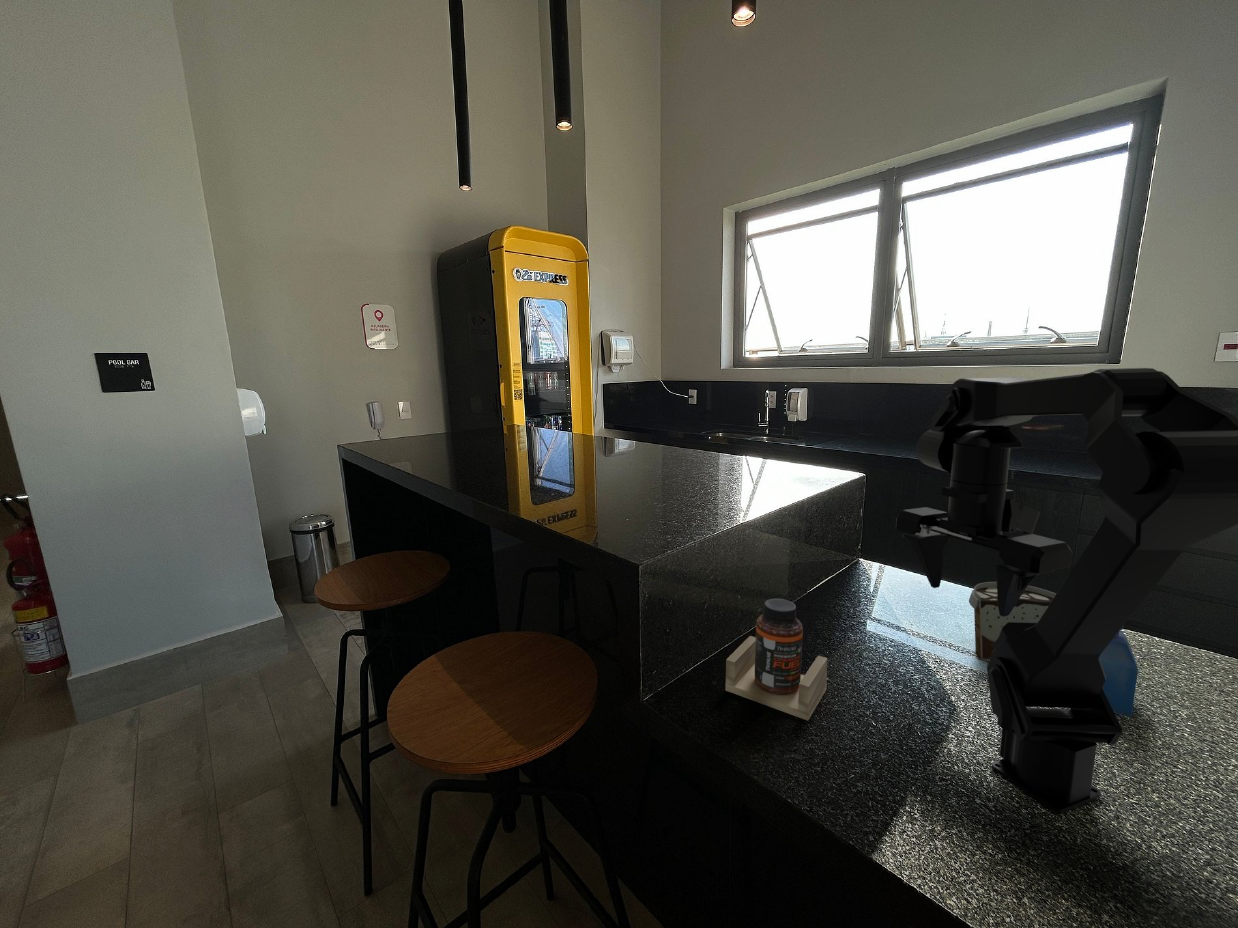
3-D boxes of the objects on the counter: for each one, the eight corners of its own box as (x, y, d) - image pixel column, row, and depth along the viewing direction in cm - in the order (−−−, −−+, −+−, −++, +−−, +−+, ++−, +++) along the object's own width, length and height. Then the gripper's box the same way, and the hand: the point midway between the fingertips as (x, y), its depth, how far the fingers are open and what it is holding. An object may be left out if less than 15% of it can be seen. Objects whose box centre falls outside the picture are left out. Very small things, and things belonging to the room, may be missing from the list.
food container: (1031, 641, 80) (1037, 580, 79) (1060, 662, 74) (1068, 597, 73) (948, 639, 81) (952, 579, 80) (970, 659, 75) (975, 595, 74)
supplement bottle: (774, 701, 65) (776, 617, 63) (745, 677, 70) (746, 599, 69) (810, 689, 67) (813, 608, 66) (779, 667, 73) (782, 591, 71)
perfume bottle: (1062, 676, 71) (1072, 594, 69) (1125, 692, 67) (1137, 605, 65) (1064, 697, 66) (1074, 610, 64) (1131, 716, 62) (1144, 623, 60)
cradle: (826, 689, 69) (827, 658, 68) (808, 720, 63) (809, 686, 62) (749, 664, 76) (749, 635, 75) (725, 690, 69) (725, 659, 69)
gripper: (1113, 489, 57) (1096, 621, 59) (956, 465, 74) (948, 568, 77) (1043, 498, 53) (1028, 638, 56) (896, 471, 71) (889, 578, 73)
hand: (967, 600), depth 65 cm, fingers open, 9 cm apart
